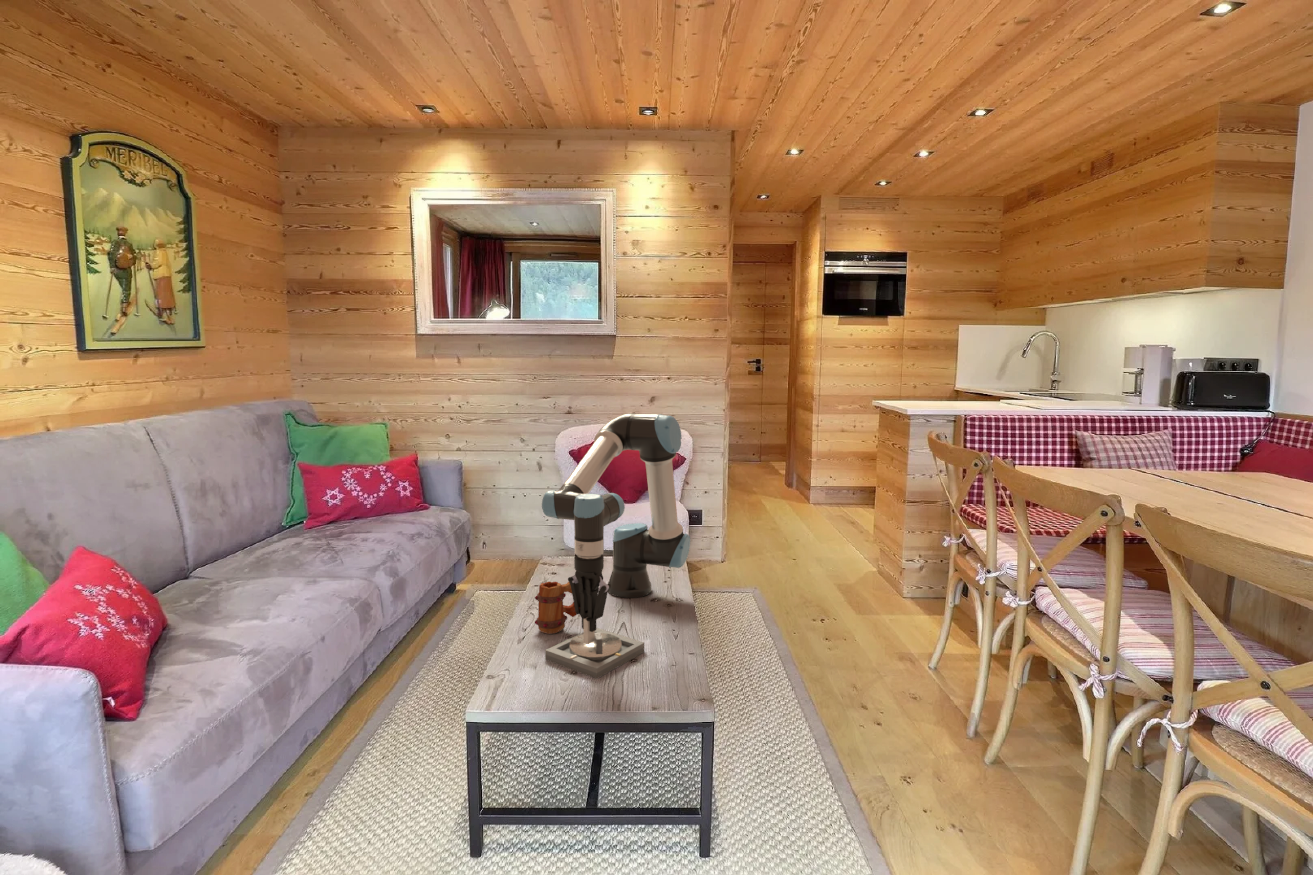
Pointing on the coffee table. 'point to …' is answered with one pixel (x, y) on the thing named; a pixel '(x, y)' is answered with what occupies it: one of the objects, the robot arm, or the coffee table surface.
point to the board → (593, 669)
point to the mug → (553, 607)
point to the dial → (596, 647)
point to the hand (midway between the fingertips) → (589, 641)
